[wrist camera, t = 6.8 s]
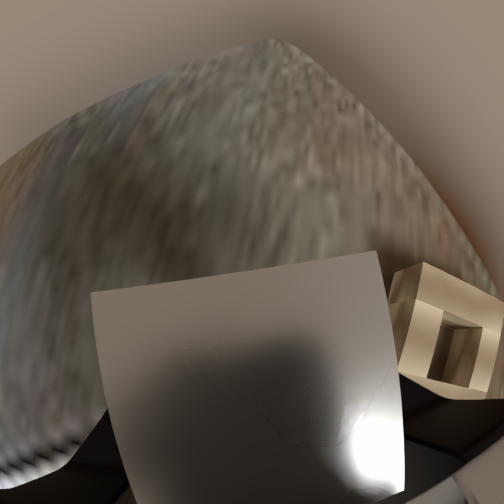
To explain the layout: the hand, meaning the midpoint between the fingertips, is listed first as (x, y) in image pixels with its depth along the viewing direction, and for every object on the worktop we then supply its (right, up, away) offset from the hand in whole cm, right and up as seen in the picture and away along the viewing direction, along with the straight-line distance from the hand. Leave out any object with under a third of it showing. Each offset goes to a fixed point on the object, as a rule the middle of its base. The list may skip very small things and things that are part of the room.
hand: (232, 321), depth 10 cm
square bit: (0, -3, +6) cm, 7 cm away
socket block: (+16, -7, +13) cm, 22 cm away
